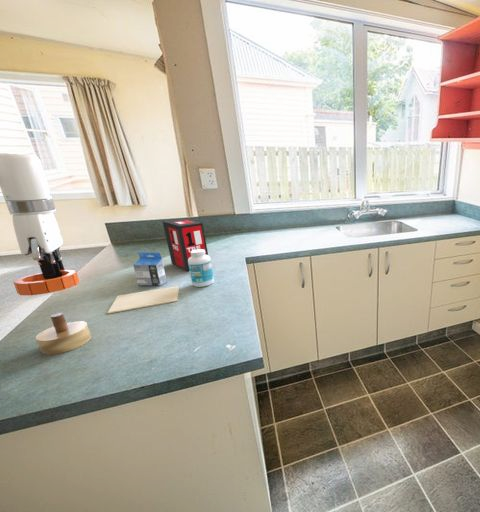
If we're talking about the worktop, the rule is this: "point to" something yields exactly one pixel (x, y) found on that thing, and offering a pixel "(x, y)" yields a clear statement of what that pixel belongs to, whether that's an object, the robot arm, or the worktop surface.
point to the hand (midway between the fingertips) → (55, 276)
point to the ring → (45, 283)
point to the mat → (144, 299)
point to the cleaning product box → (184, 240)
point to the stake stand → (63, 335)
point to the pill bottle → (200, 268)
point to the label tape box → (150, 269)
